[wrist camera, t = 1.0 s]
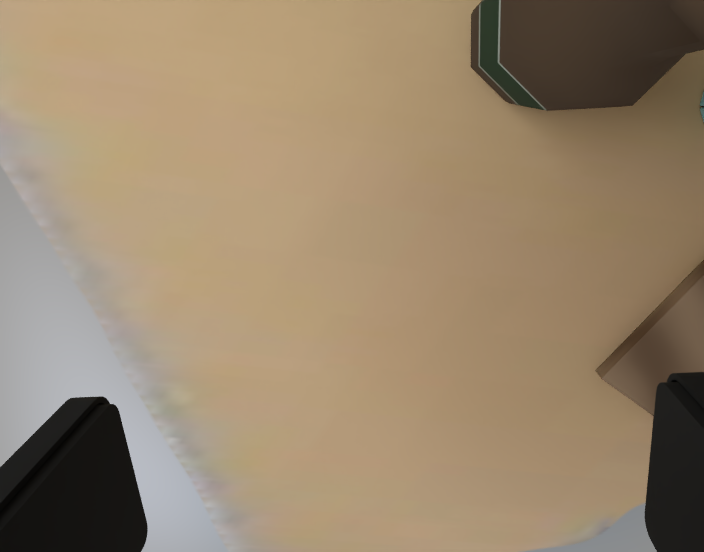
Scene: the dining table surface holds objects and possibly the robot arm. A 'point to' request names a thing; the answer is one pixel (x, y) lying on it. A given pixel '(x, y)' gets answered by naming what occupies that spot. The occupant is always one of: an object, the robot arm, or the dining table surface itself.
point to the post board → (661, 344)
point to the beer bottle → (581, 48)
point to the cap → (703, 109)
